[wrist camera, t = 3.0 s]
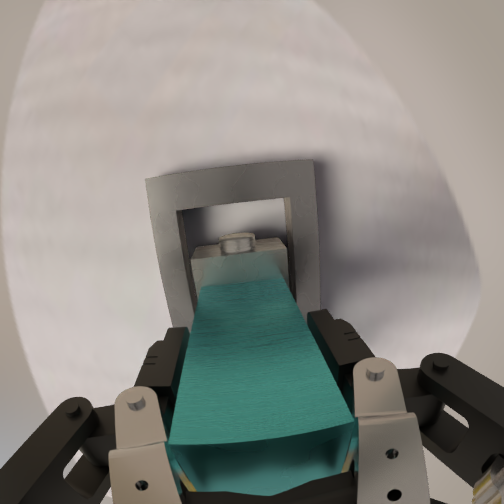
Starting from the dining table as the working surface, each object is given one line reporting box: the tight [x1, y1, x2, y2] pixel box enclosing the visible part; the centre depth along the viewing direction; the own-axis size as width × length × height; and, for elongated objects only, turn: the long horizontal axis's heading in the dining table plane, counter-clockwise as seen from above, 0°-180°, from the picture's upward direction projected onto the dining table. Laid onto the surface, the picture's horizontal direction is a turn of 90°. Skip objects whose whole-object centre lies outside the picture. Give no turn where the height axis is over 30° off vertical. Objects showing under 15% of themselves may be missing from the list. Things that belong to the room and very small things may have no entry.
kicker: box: [168, 233, 354, 496], centre depth 10 cm, size 8×8×10 cm
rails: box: [145, 159, 320, 333], centre depth 15 cm, size 24×7×2 cm, turn 6°
